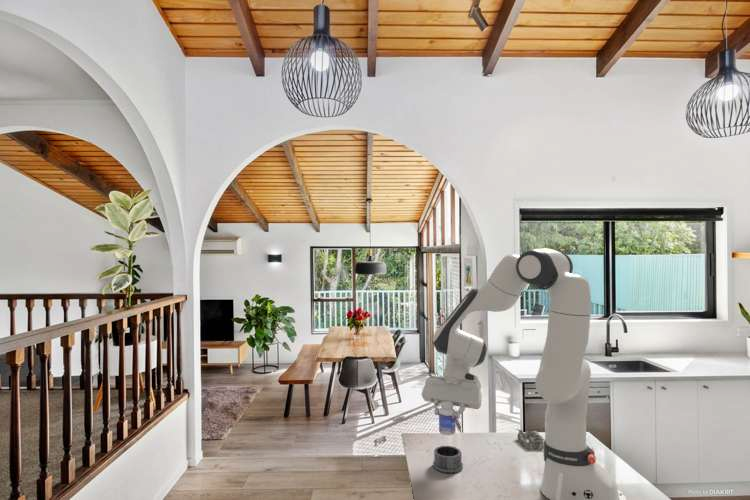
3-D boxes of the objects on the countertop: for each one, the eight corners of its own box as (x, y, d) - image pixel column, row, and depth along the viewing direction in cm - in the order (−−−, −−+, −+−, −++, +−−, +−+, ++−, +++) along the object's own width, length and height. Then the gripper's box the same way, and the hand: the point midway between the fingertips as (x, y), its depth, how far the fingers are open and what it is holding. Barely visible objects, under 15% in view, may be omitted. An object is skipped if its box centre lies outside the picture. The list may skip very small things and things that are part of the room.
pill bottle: (455, 436, 142) (455, 406, 142) (438, 435, 143) (438, 405, 143) (455, 429, 147) (455, 400, 147) (439, 428, 148) (439, 399, 148)
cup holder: (466, 463, 146) (466, 448, 146) (457, 476, 138) (457, 460, 138) (439, 457, 151) (438, 443, 151) (428, 469, 142) (428, 454, 143)
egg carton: (515, 438, 167) (515, 427, 167) (535, 438, 167) (535, 427, 167) (525, 450, 157) (525, 438, 157) (546, 450, 157) (546, 438, 157)
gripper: (425, 370, 156) (414, 406, 147) (482, 377, 146) (474, 416, 138) (429, 380, 160) (419, 415, 151) (485, 387, 150) (478, 425, 141)
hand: (446, 416), depth 144 cm, fingers closed on pill bottle, 5 cm apart
